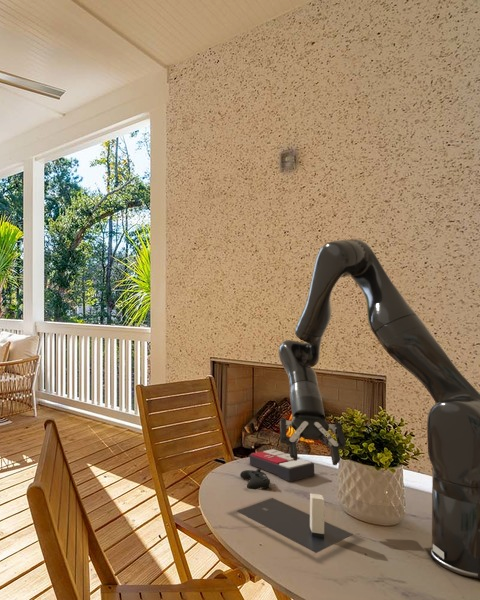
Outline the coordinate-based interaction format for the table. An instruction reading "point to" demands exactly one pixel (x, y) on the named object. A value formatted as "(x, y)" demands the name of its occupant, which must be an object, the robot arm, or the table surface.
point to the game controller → (256, 479)
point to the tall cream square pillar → (317, 515)
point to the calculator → (282, 465)
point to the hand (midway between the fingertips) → (315, 461)
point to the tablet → (293, 524)
